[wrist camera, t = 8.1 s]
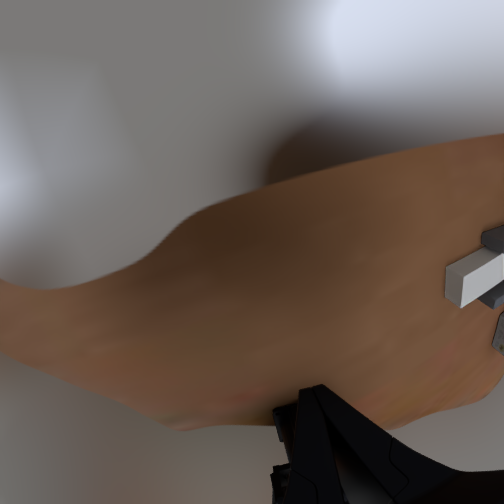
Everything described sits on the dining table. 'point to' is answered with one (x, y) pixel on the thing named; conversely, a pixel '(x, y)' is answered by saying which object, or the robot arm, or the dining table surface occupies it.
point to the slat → (473, 275)
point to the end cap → (500, 293)
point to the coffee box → (499, 336)
